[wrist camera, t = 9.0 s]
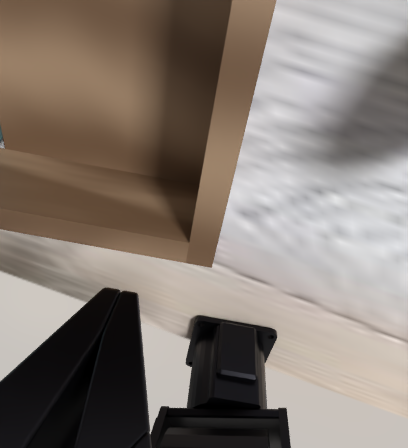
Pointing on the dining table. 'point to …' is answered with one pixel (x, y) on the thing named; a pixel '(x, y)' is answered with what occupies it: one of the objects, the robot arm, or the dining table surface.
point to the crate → (126, 119)
